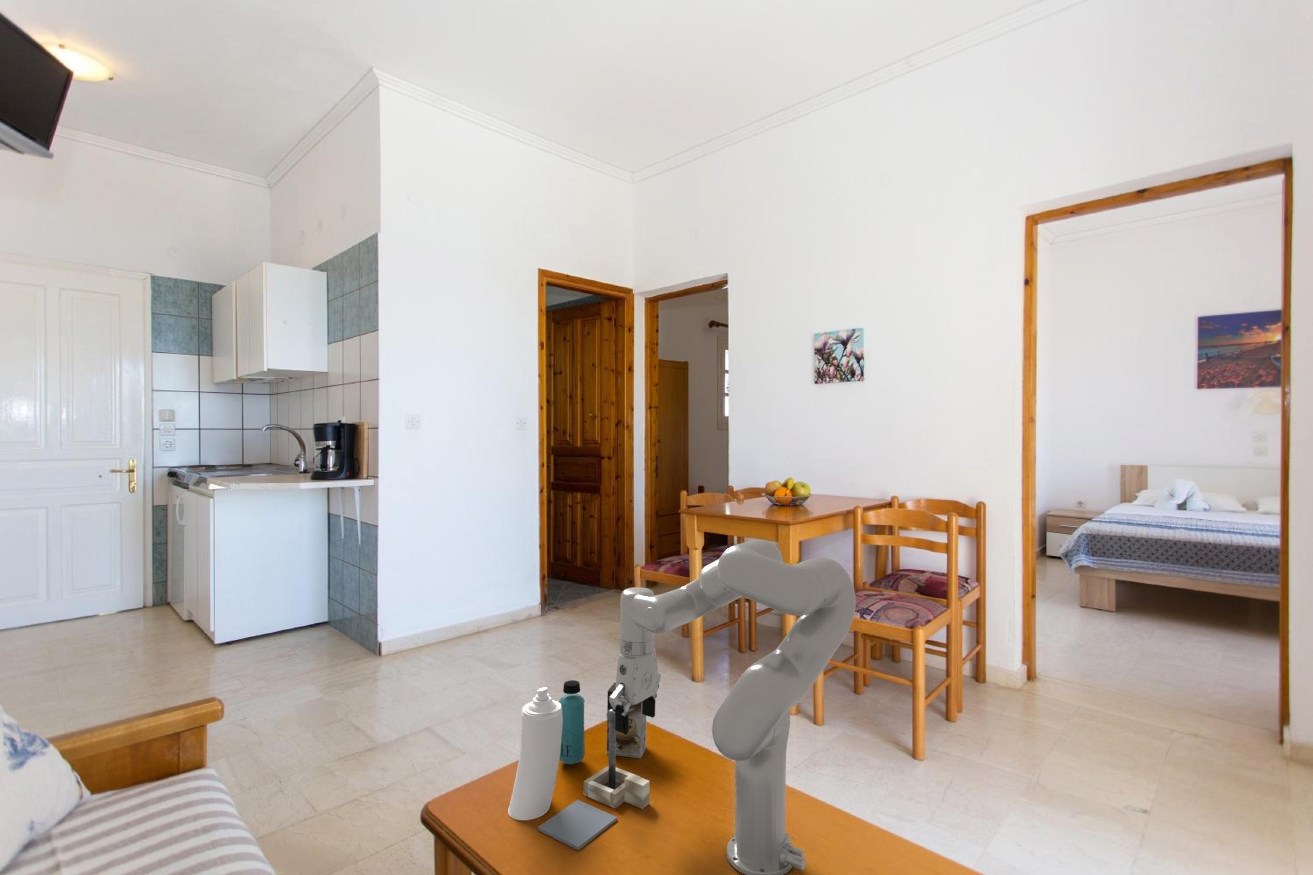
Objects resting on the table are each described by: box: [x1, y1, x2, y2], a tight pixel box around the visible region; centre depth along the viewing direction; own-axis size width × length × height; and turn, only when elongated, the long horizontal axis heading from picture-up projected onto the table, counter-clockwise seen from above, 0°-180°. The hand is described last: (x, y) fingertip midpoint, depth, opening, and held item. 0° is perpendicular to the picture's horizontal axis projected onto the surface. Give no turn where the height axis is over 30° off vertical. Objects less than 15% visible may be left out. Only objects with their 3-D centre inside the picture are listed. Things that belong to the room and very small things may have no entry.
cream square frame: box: [583, 764, 650, 810], centre depth 141 cm, size 14×9×5 cm, turn 55°
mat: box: [537, 799, 618, 851], centre depth 131 cm, size 11×12×1 cm
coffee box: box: [606, 681, 647, 759], centre depth 162 cm, size 9×6×16 cm
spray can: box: [507, 687, 563, 821], centre depth 138 cm, size 12×11×25 cm
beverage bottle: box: [558, 680, 586, 765], centre depth 155 cm, size 6×7×20 cm
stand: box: [603, 709, 622, 790], centre depth 143 cm, size 5×5×19 cm
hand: (635, 723), depth 139 cm, fingers open, 9 cm apart
